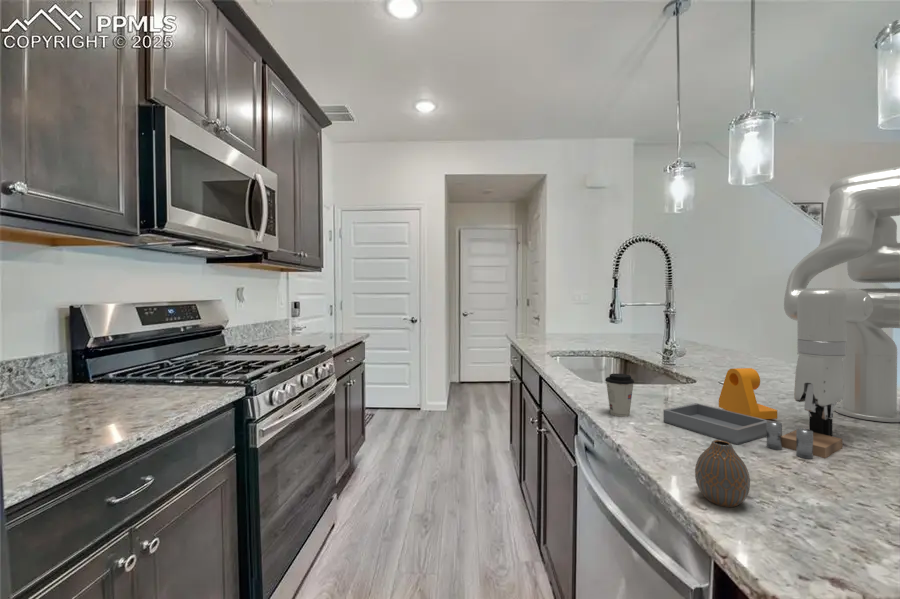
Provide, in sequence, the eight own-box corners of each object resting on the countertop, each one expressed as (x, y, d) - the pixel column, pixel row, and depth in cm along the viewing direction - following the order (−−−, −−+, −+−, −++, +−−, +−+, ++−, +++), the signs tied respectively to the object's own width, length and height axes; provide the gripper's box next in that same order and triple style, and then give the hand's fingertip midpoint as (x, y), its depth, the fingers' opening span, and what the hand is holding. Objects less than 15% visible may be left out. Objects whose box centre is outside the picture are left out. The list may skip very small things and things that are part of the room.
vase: (684, 490, 65) (684, 435, 65) (725, 488, 65) (725, 433, 65) (717, 514, 58) (717, 452, 58) (762, 511, 58) (762, 450, 58)
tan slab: (798, 440, 87) (798, 428, 87) (842, 451, 81) (842, 438, 81) (780, 449, 83) (780, 436, 82) (825, 461, 77) (825, 447, 76)
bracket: (779, 422, 98) (779, 372, 98) (750, 422, 98) (750, 372, 97) (744, 409, 109) (744, 364, 108) (718, 410, 108) (718, 364, 108)
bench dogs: (770, 444, 84) (770, 420, 83) (815, 457, 77) (815, 431, 77) (764, 446, 82) (764, 421, 82) (809, 459, 76) (809, 433, 76)
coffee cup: (605, 416, 104) (604, 377, 103) (605, 409, 110) (605, 372, 110) (635, 419, 101) (635, 379, 101) (634, 411, 107) (633, 373, 107)
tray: (696, 414, 104) (696, 403, 104) (771, 434, 89) (771, 421, 89) (663, 422, 98) (663, 409, 98) (737, 444, 84) (737, 430, 83)
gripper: (816, 344, 92) (816, 425, 92) (780, 349, 85) (780, 437, 85) (861, 348, 85) (861, 436, 85) (826, 353, 78) (826, 449, 79)
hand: (820, 436), depth 85 cm, fingers closed
